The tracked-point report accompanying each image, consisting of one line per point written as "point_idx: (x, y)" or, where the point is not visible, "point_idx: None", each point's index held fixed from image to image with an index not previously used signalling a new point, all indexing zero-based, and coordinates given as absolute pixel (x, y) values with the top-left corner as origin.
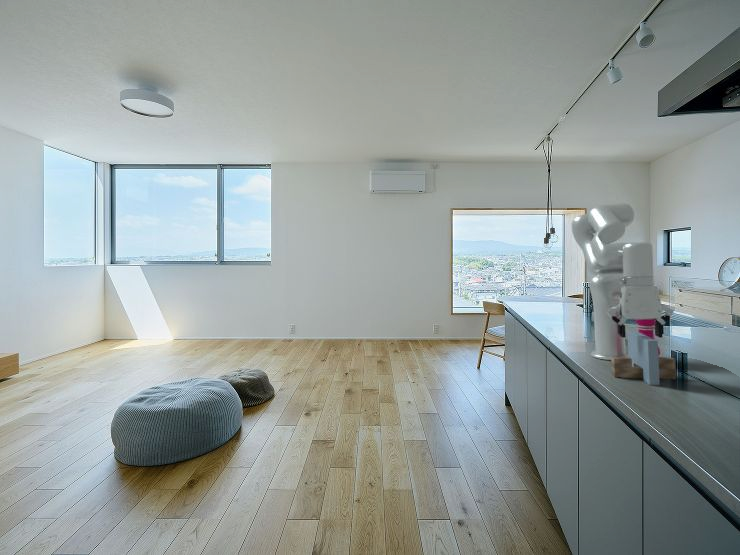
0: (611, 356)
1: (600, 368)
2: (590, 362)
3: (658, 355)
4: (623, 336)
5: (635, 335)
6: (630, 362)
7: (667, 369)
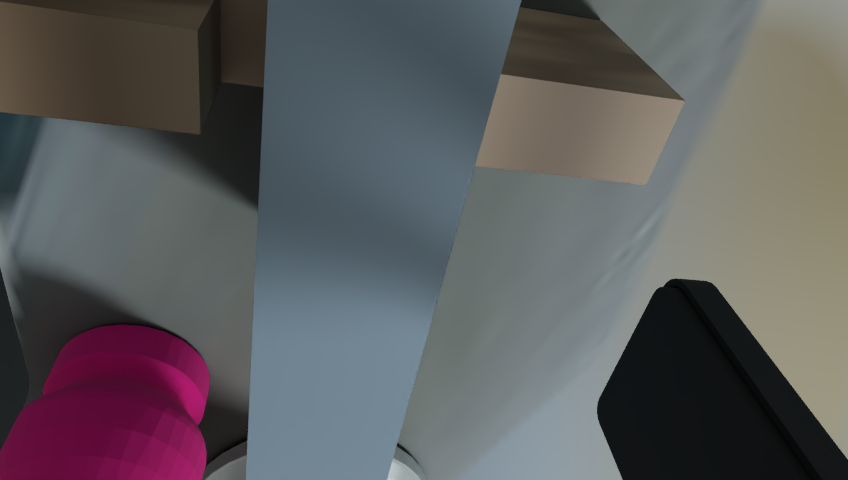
0: None
1: (538, 272)
2: (510, 395)
3: (33, 402)
4: (713, 287)
5: (412, 374)
6: None
7: None
